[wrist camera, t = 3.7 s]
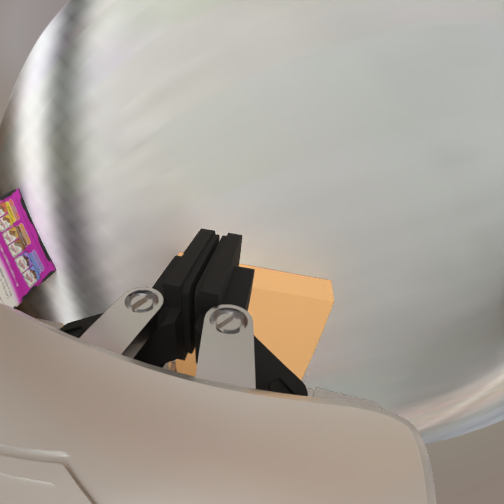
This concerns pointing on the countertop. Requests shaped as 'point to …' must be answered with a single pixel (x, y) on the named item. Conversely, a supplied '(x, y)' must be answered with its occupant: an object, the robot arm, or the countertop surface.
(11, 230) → the candy bar box
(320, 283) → the orange cover
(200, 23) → the countertop surface
